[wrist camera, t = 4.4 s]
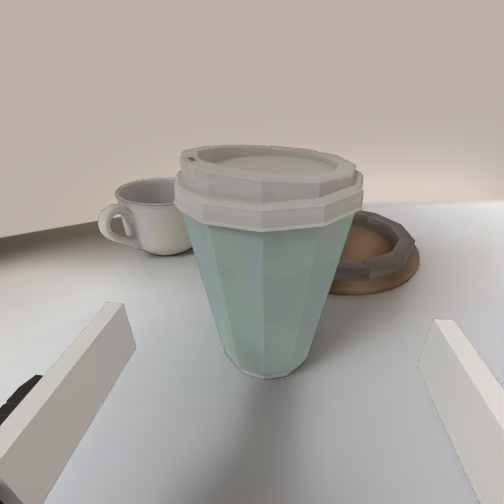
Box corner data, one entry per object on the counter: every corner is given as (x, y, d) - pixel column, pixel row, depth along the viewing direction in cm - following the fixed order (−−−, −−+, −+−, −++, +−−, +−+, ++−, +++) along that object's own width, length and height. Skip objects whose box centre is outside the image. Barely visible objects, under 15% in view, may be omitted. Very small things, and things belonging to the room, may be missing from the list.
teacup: (183, 222, 46) (175, 171, 42) (229, 243, 39) (224, 184, 36) (91, 254, 38) (71, 194, 34) (129, 288, 31) (109, 217, 27)
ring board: (248, 290, 30) (247, 269, 29) (262, 219, 46) (262, 204, 45) (448, 299, 28) (456, 276, 27) (388, 221, 44) (392, 205, 43)
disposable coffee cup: (290, 293, 29) (297, 131, 22) (371, 376, 21) (426, 153, 13) (185, 327, 25) (152, 145, 18) (230, 446, 17) (200, 188, 10)
